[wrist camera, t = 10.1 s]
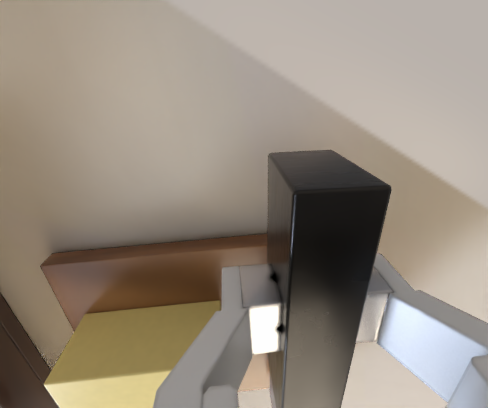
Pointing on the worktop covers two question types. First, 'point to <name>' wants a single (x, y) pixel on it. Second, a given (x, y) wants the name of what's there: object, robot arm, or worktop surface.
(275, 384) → the knife
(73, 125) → the worktop surface
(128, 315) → the butter
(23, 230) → the worktop surface
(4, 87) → the worktop surface
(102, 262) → the board
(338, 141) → the worktop surface
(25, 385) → the knife stand
